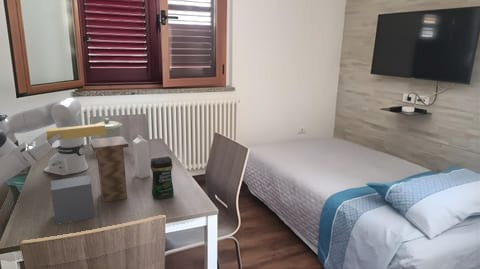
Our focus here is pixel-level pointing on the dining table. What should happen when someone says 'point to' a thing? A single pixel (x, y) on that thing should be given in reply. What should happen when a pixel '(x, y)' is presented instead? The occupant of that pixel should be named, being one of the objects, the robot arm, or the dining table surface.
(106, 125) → the canister
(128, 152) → the dining table surface
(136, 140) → the milk
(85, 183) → the podium
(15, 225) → the dining table surface
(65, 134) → the yellow bar
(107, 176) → the walnut stand
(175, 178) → the dining table surface
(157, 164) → the coffee jar
